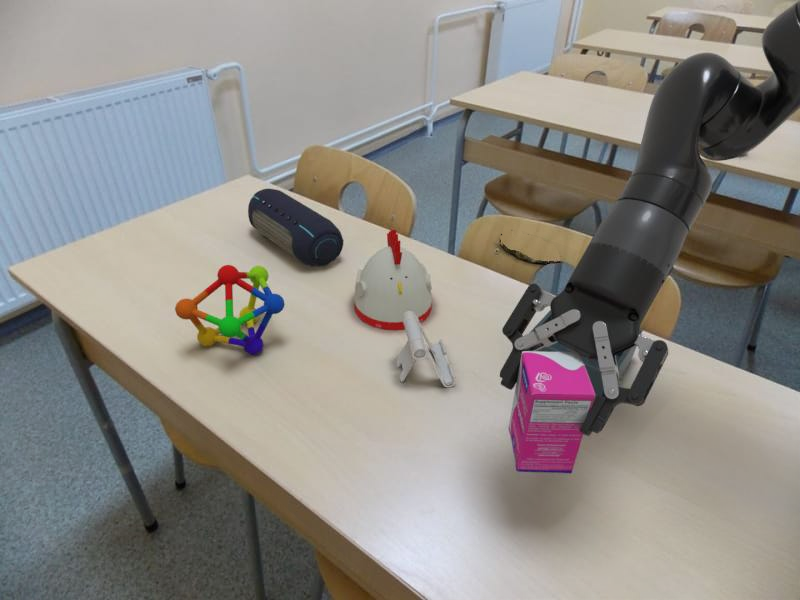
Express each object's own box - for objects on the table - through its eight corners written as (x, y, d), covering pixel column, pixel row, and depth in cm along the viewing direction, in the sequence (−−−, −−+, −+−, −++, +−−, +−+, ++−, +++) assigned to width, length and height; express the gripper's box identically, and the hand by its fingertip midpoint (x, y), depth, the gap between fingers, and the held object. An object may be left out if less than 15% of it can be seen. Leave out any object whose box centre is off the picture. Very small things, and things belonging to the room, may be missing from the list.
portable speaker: (244, 232, 114) (236, 190, 108) (283, 219, 120) (278, 178, 114) (308, 280, 99) (304, 234, 93) (350, 263, 105) (348, 218, 99)
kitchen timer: (360, 334, 87) (358, 257, 78) (349, 288, 98) (346, 216, 89) (440, 324, 89) (446, 249, 80) (421, 281, 100) (425, 210, 91)
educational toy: (246, 387, 78) (220, 313, 68) (188, 356, 83) (156, 283, 73) (312, 325, 87) (297, 253, 78) (256, 301, 93) (236, 230, 83)
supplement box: (505, 427, 56) (521, 348, 50) (560, 429, 56) (583, 350, 49) (513, 473, 52) (531, 392, 45) (573, 475, 51) (600, 394, 45)
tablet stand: (454, 387, 77) (460, 344, 72) (403, 392, 76) (404, 349, 71) (441, 349, 84) (445, 307, 79) (394, 353, 83) (394, 312, 78)
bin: (630, 361, 83) (642, 329, 79) (600, 410, 74) (612, 377, 70) (553, 328, 89) (561, 297, 85) (518, 369, 81) (524, 337, 77)
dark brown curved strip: (569, 259, 110) (510, 234, 118) (576, 239, 107) (514, 215, 115) (548, 272, 103) (487, 245, 111) (555, 251, 101) (491, 224, 109)
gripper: (551, 219, 50) (468, 367, 50) (707, 276, 42) (610, 451, 42) (566, 247, 56) (493, 378, 56) (705, 301, 48) (620, 453, 48)
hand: (543, 409), depth 49 cm, fingers closed on supplement box, 8 cm apart
